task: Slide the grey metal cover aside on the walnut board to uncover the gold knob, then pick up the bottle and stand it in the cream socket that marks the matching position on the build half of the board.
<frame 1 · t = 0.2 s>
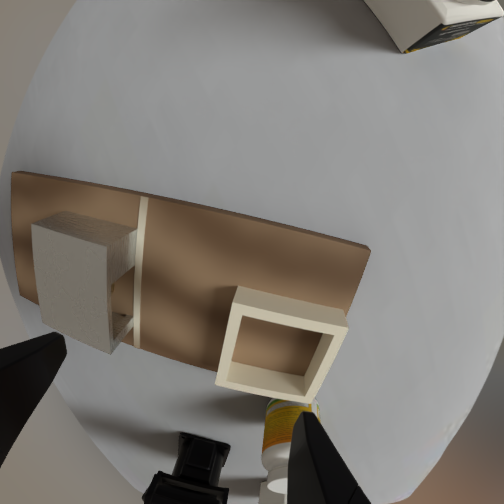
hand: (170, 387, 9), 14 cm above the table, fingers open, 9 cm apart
layout board: (144, 276, 23), on the table
supplement bottle: (292, 405, 27), on the table
socket: (277, 341, 22), resting on layout board
cover: (83, 279, 20), point 3 cm above the table, slide at 0.1 cm
jar: (287, 485, 34), on the table
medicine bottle: (408, 10, 14), on the table
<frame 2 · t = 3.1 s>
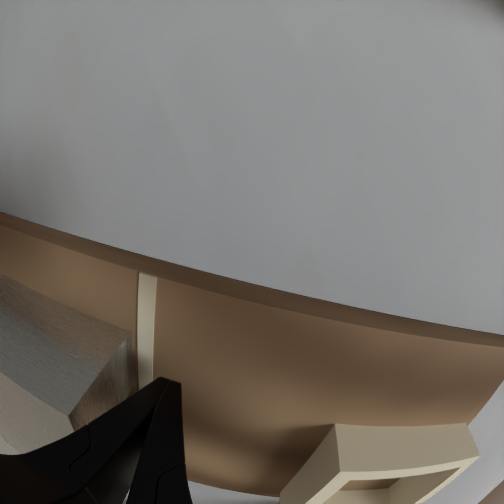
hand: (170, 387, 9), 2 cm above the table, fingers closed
layout board: (155, 392, 12), on the table
socket: (371, 468, 11), resting on layout board
cover: (47, 403, 9), point 3 cm above the table, slide at 0.3 cm, touching gripper
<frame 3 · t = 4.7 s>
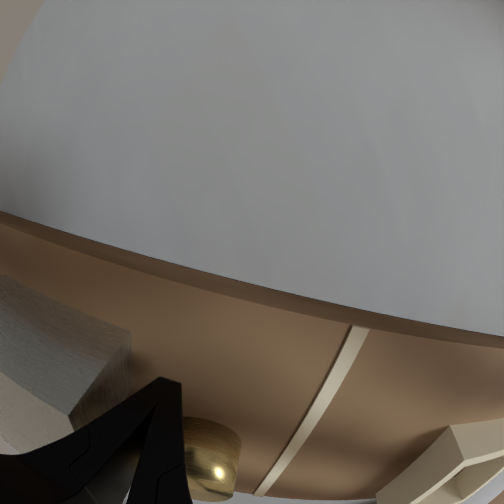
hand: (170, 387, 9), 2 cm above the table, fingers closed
layout board: (294, 426, 12), on the table
gold knob: (204, 439, 11), resting on layout board
socket: (453, 459, 11), resting on layout board
cover: (47, 403, 9), point 3 cm above the table, slide at 7.2 cm, touching gripper
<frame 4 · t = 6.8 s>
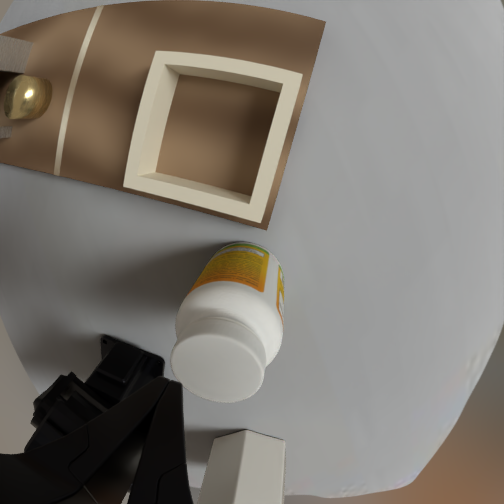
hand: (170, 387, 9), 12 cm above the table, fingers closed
layout board: (82, 87, 17), on the table
gold knob: (38, 98, 16), resting on layout board
supplement bottle: (245, 276, 20), on the table
socket: (215, 131, 16), resting on layout board
jar: (251, 448, 28), on the table
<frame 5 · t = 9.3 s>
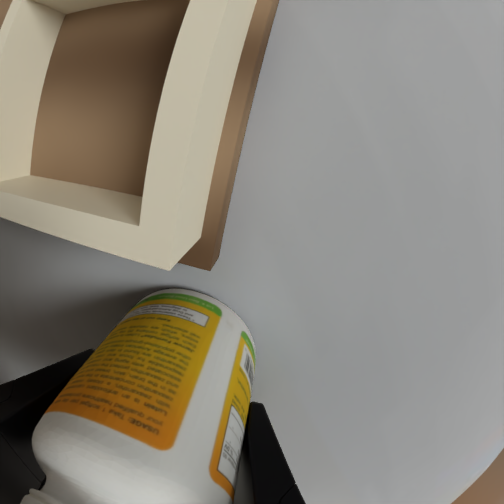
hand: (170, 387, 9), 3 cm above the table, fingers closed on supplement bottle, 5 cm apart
supplement bottle: (191, 341, 11), on the table, touching gripper
socket: (106, 87, 7), resting on layout board
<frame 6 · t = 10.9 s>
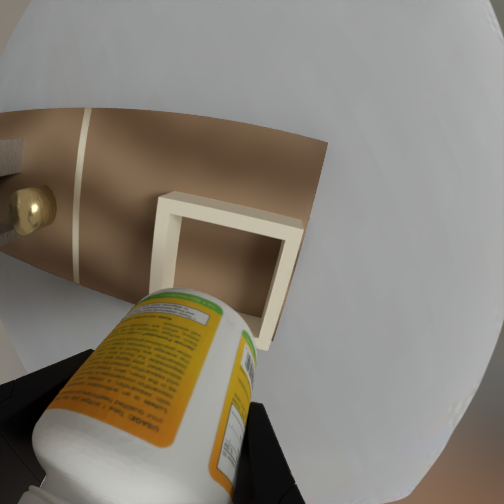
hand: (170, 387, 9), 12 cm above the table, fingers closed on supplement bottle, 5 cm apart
layout board: (86, 198, 20), on the table
gold knob: (43, 205, 19), resting on layout board
supplement bottle: (192, 340, 11), point 9 cm above the table, touching gripper
socket: (223, 264, 19), resting on layout board
when the fingers open (5 cm above the table, at t = 12.6 s): supplement bottle drops 1 cm, resting on layout board.
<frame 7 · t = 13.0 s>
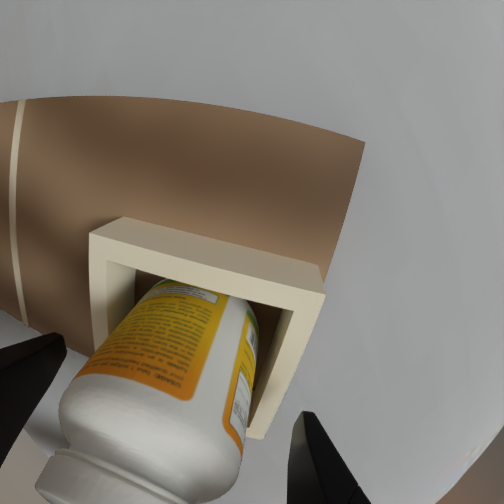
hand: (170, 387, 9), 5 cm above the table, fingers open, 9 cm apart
layout board: (26, 219, 13), on the table
supplement bottle: (200, 323, 13), point 1 cm above the table, touching layout board
socket: (199, 324, 12), resting on layout board
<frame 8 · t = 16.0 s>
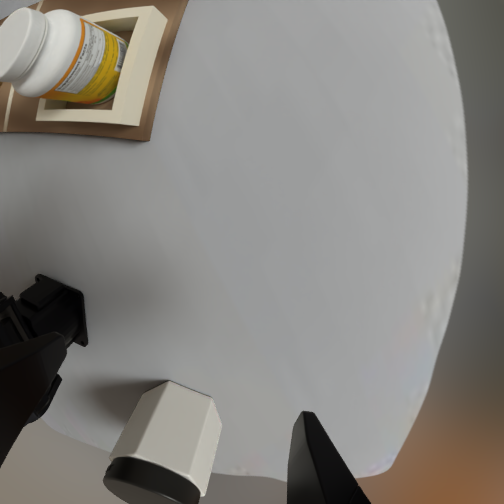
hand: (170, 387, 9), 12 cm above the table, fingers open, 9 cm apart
layout board: (27, 63, 16), on the table
supplement bottle: (105, 71, 16), point 1 cm above the table, touching layout board
socket: (104, 70, 16), resting on layout board
jar: (183, 407, 27), on the table
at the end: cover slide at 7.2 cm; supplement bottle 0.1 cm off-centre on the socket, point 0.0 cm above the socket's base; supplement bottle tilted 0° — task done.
